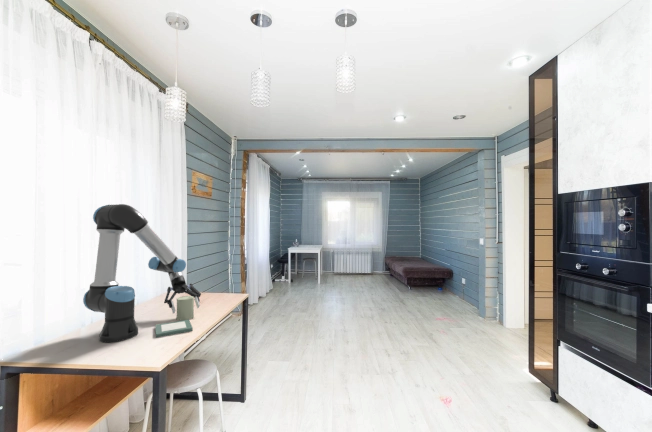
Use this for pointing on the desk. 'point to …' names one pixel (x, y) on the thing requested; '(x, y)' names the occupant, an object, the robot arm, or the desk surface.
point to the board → (173, 328)
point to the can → (185, 308)
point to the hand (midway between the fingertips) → (186, 309)
